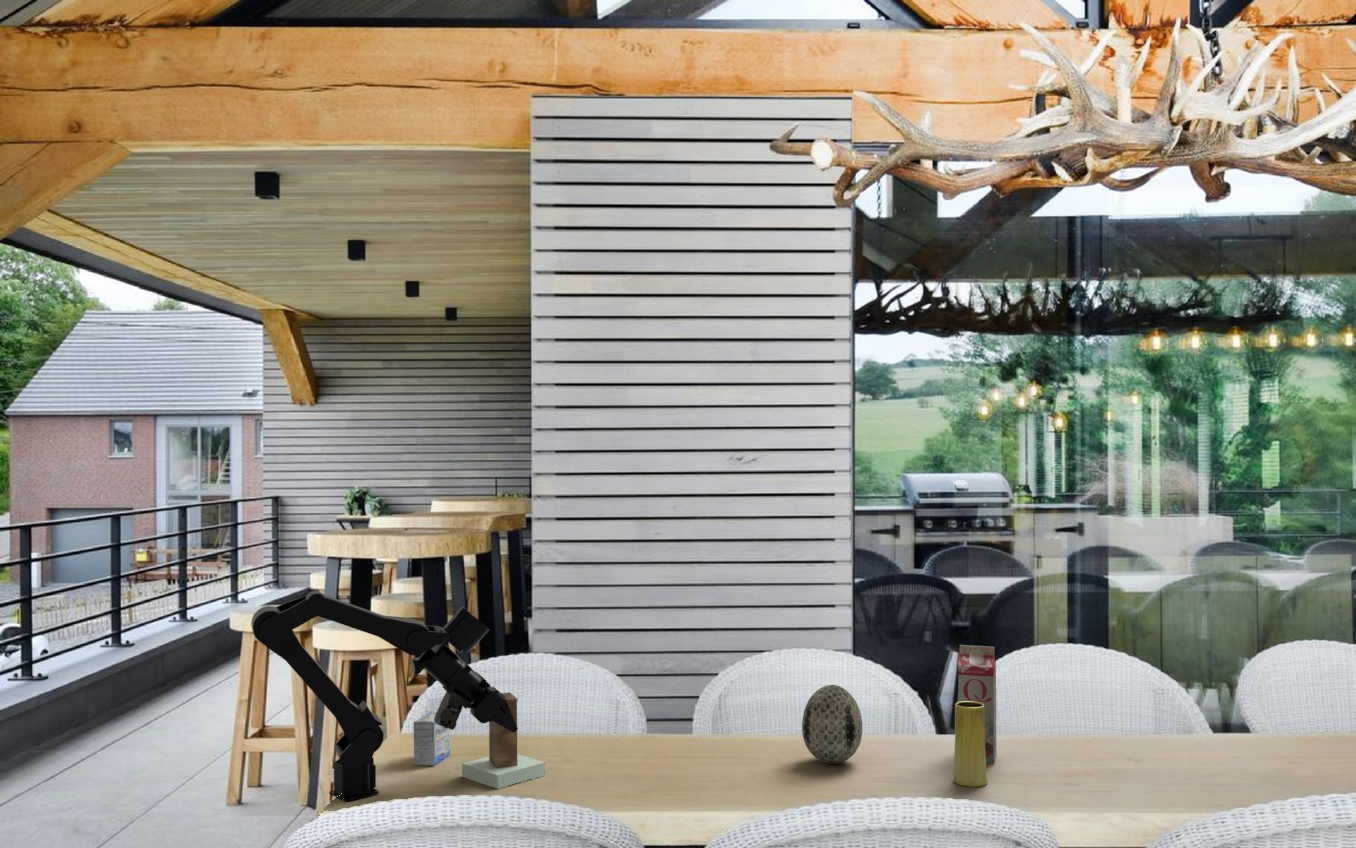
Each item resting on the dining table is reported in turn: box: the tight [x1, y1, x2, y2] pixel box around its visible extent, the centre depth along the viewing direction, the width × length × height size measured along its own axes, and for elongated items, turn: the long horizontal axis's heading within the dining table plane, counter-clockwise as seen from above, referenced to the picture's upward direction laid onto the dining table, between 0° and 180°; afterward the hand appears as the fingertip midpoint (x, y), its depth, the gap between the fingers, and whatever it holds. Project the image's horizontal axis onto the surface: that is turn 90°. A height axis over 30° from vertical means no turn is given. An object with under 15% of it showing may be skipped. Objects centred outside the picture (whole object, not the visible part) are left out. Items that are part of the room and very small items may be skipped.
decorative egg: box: [801, 684, 864, 765], centre depth 227 cm, size 12×12×15 cm
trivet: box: [461, 753, 546, 790], centre depth 220 cm, size 11×11×2 cm
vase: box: [952, 701, 988, 788], centre depth 214 cm, size 6×6×14 cm
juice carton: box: [957, 644, 997, 765], centre depth 230 cm, size 7×7×22 cm
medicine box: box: [413, 711, 451, 767], centre depth 231 cm, size 8×4×9 cm, turn 168°
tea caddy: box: [488, 692, 519, 768], centre depth 220 cm, size 4×6×12 cm
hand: (510, 725), depth 221 cm, fingers open, 9 cm apart
